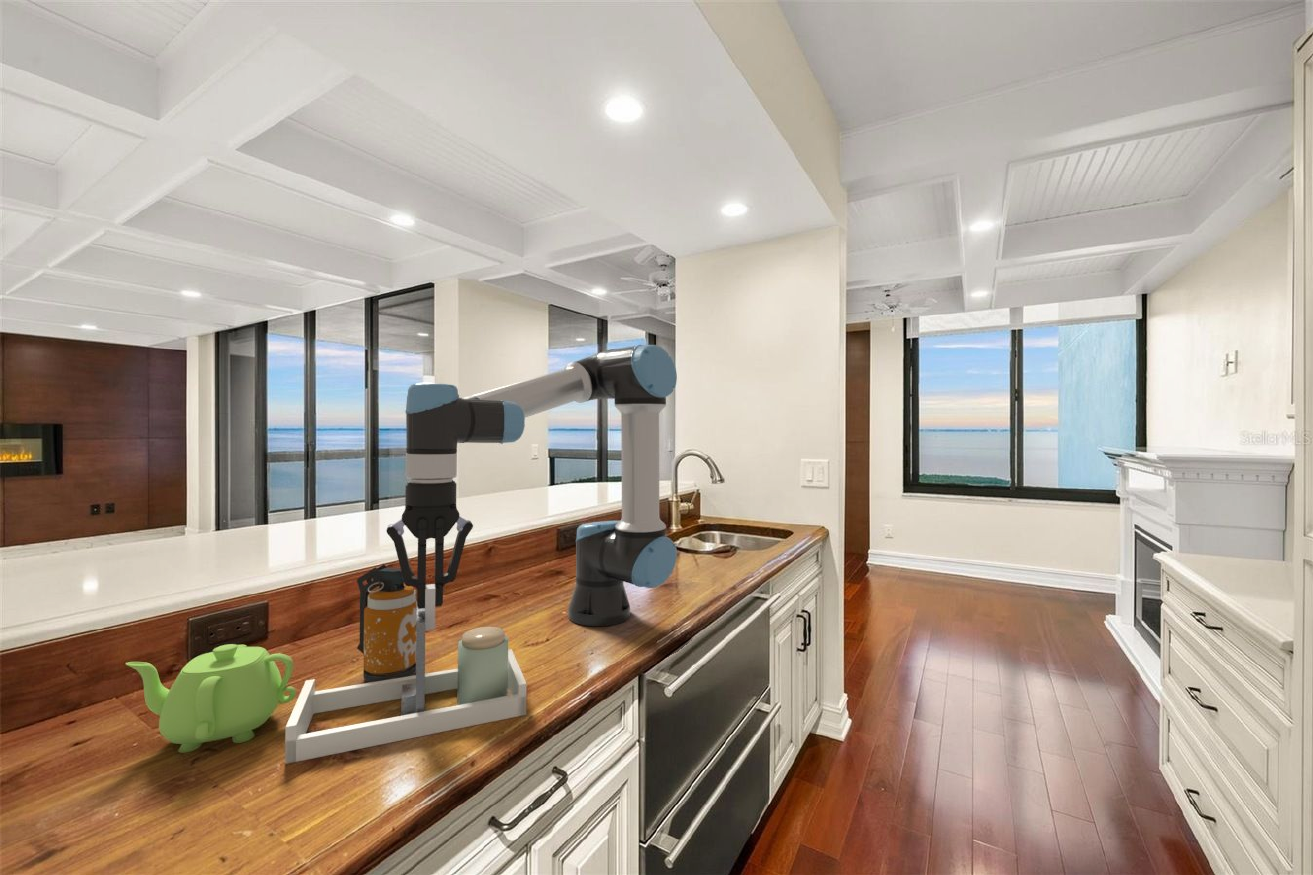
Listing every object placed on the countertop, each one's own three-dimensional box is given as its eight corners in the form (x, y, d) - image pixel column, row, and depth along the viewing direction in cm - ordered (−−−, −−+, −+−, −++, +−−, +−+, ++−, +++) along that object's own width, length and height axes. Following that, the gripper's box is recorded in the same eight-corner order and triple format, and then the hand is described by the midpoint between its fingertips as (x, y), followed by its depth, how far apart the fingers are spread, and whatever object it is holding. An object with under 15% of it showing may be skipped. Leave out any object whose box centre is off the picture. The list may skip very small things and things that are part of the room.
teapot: (171, 781, 67) (171, 683, 67) (124, 748, 74) (124, 659, 74) (304, 720, 82) (305, 639, 82) (255, 697, 88) (255, 622, 88)
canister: (396, 689, 92) (397, 574, 91) (341, 682, 94) (342, 570, 94) (428, 667, 100) (429, 562, 100) (377, 661, 103) (378, 558, 102)
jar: (503, 685, 94) (504, 623, 94) (511, 707, 86) (512, 639, 86) (455, 694, 90) (456, 629, 90) (459, 717, 83) (459, 647, 83)
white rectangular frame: (511, 676, 97) (511, 649, 97) (526, 714, 84) (526, 683, 84) (305, 711, 84) (305, 680, 84) (285, 764, 71) (285, 727, 71)
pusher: (423, 694, 90) (424, 600, 89) (424, 727, 80) (425, 621, 80) (402, 698, 88) (403, 602, 88) (400, 731, 78) (401, 624, 78)
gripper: (472, 477, 91) (470, 614, 91) (387, 479, 85) (385, 624, 85) (476, 481, 84) (474, 629, 84) (384, 483, 78) (382, 641, 79)
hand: (429, 627), depth 85 cm, fingers closed
